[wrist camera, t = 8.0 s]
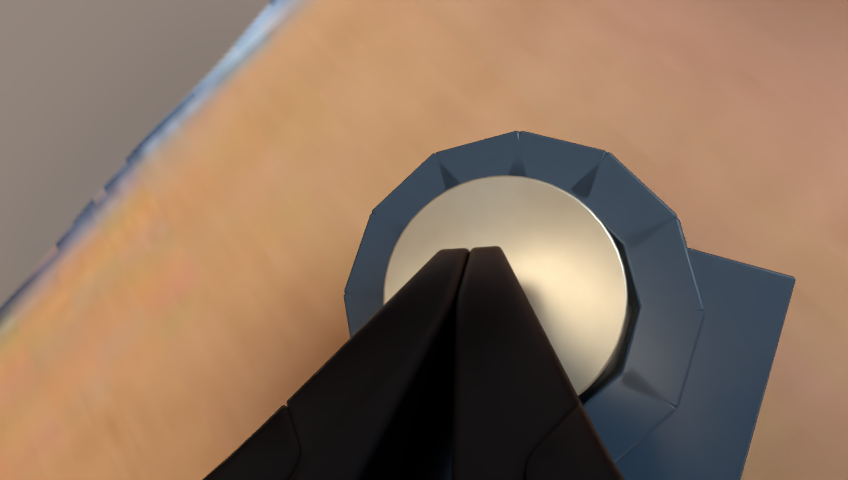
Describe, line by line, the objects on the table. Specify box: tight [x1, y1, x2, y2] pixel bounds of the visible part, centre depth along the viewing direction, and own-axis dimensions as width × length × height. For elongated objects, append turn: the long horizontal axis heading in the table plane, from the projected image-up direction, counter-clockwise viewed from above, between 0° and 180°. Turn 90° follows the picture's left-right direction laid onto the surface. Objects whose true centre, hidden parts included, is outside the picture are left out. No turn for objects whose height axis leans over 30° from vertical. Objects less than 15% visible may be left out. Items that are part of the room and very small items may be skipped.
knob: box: [383, 175, 628, 396], centre depth 12 cm, size 4×4×2 cm
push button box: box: [344, 131, 795, 480], centre depth 16 cm, size 11×9×6 cm
